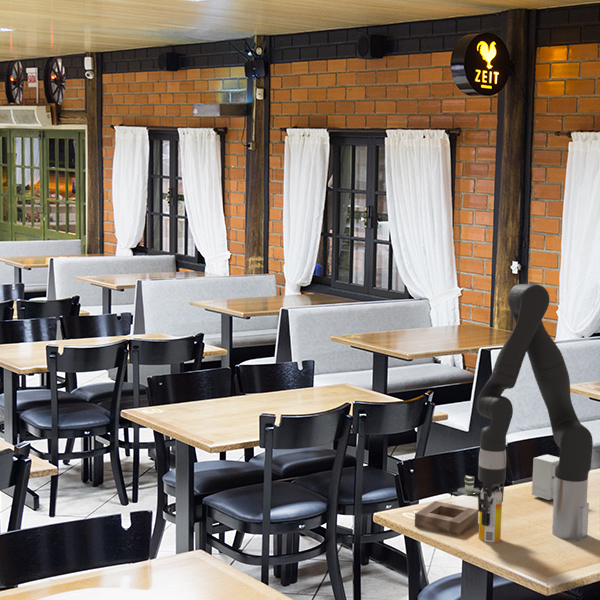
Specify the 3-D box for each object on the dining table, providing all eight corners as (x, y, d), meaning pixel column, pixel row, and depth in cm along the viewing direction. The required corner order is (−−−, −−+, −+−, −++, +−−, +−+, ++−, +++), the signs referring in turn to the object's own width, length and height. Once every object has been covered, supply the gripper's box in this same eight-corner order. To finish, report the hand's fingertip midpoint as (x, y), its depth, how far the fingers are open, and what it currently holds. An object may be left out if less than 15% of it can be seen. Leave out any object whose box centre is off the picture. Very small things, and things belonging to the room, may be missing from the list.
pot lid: (477, 499, 312) (478, 484, 311) (444, 492, 319) (444, 477, 318) (493, 490, 322) (494, 475, 321) (460, 483, 329) (461, 469, 328)
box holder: (478, 524, 288) (478, 509, 287) (459, 538, 276) (459, 523, 275) (434, 515, 295) (435, 501, 295) (414, 528, 283) (415, 513, 283)
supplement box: (549, 500, 311) (551, 462, 309) (531, 494, 316) (532, 457, 315) (563, 496, 315) (565, 458, 314) (544, 490, 321) (546, 453, 319)
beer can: (499, 537, 277) (501, 486, 275) (501, 545, 271) (503, 493, 269) (477, 536, 277) (479, 485, 276) (479, 544, 271) (481, 492, 270)
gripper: (495, 472, 263) (493, 532, 265) (514, 460, 275) (512, 517, 277) (469, 468, 267) (467, 526, 269) (489, 456, 280) (487, 512, 281)
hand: (490, 521), depth 273 cm, fingers closed on beer can, 6 cm apart
